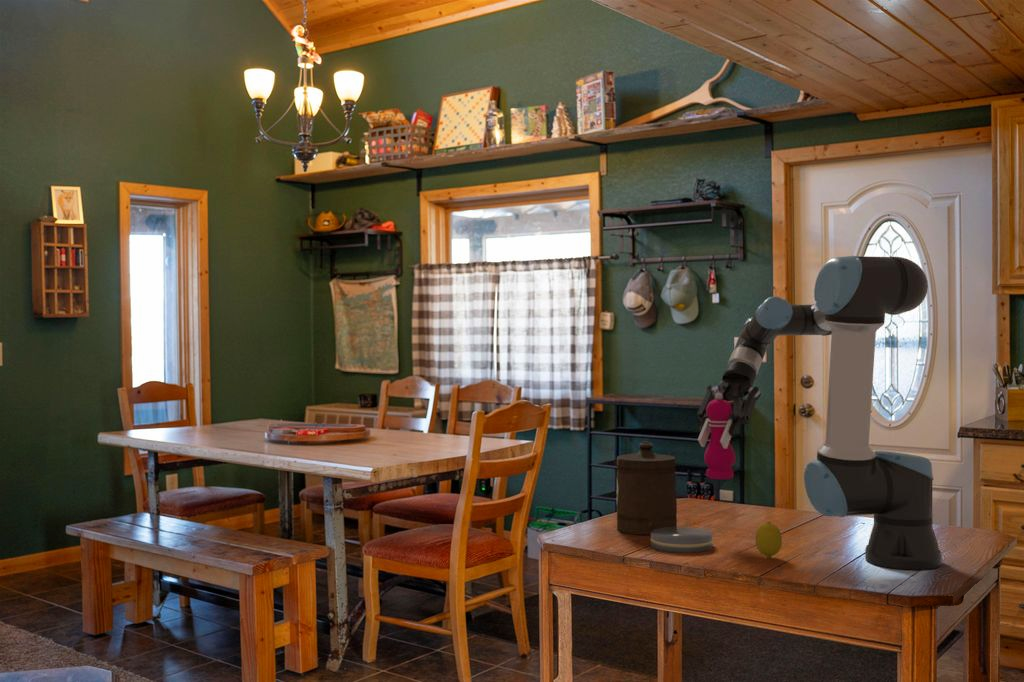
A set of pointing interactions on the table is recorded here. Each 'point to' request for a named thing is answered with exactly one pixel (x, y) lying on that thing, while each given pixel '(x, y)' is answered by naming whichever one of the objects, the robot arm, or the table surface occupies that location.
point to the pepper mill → (715, 453)
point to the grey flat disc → (681, 539)
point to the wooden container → (646, 491)
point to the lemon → (768, 539)
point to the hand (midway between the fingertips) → (712, 443)
